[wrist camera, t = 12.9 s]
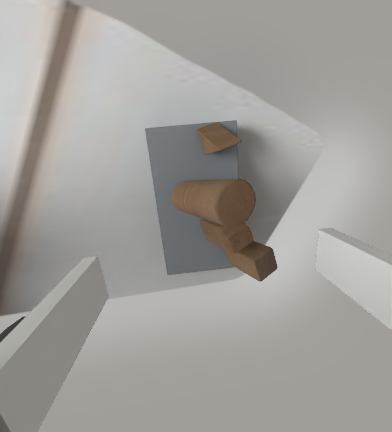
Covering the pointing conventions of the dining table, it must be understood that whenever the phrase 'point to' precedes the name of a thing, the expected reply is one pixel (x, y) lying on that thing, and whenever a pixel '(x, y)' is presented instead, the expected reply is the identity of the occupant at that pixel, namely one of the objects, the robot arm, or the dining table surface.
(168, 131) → the grey rectangular slab
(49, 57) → the dining table surface
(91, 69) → the dining table surface
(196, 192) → the wooden block set
